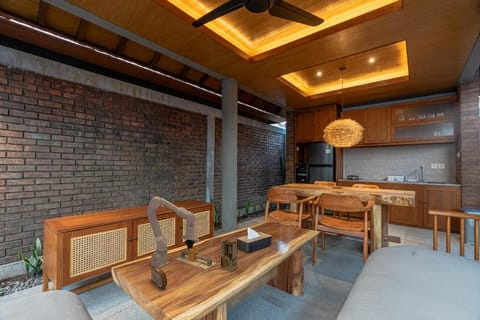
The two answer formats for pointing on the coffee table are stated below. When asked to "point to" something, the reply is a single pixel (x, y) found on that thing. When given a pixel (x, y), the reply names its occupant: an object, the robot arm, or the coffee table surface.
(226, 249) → the coffee box
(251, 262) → the coffee table surface
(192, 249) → the orange block with hole
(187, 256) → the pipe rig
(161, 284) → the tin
